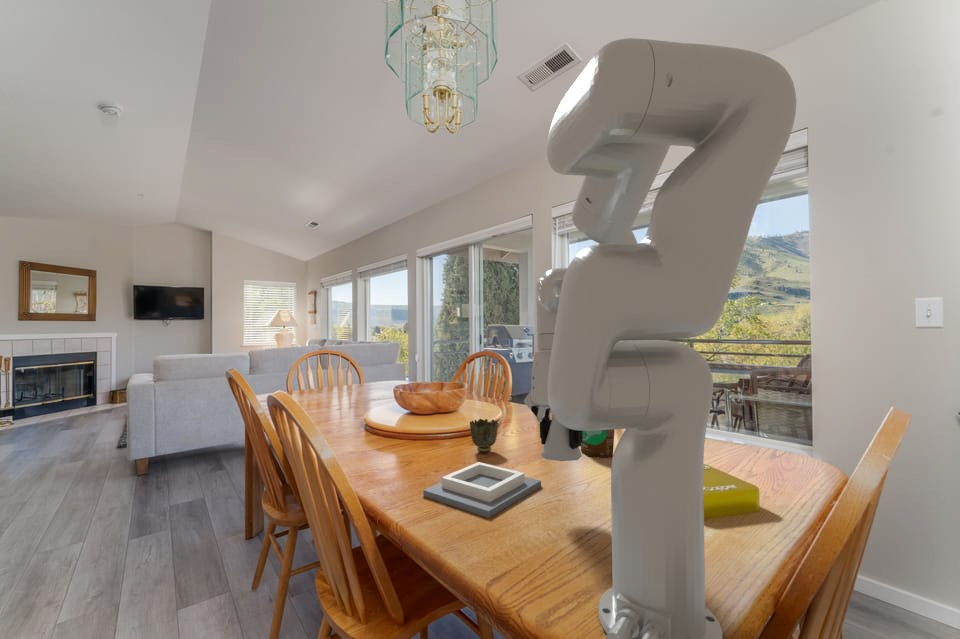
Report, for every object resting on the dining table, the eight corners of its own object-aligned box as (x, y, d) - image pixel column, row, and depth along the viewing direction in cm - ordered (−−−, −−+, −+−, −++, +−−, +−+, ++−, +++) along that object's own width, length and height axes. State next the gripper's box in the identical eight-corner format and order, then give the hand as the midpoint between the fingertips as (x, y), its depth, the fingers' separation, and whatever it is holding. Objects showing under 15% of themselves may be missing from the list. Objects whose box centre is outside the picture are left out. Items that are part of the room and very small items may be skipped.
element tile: (692, 523, 73) (691, 494, 73) (640, 490, 88) (640, 466, 88) (765, 513, 77) (765, 486, 77) (704, 483, 91) (704, 460, 91)
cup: (464, 454, 112) (464, 423, 112) (478, 446, 118) (477, 417, 119) (490, 458, 108) (490, 426, 109) (503, 450, 115) (502, 420, 115)
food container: (566, 449, 115) (566, 411, 115) (585, 446, 118) (584, 409, 118) (597, 462, 104) (596, 420, 104) (617, 458, 107) (616, 418, 107)
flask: (582, 463, 74) (581, 404, 74) (539, 462, 75) (538, 403, 75) (581, 452, 81) (579, 398, 81) (542, 451, 82) (540, 398, 83)
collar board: (488, 518, 75) (488, 499, 75) (423, 496, 85) (423, 479, 85) (541, 486, 89) (540, 470, 89) (480, 470, 99) (479, 456, 99)
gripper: (611, 343, 76) (615, 447, 76) (529, 344, 87) (531, 435, 86) (594, 343, 71) (597, 456, 70) (507, 344, 81) (510, 443, 80)
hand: (561, 444), depth 78 cm, fingers closed on flask, 5 cm apart
